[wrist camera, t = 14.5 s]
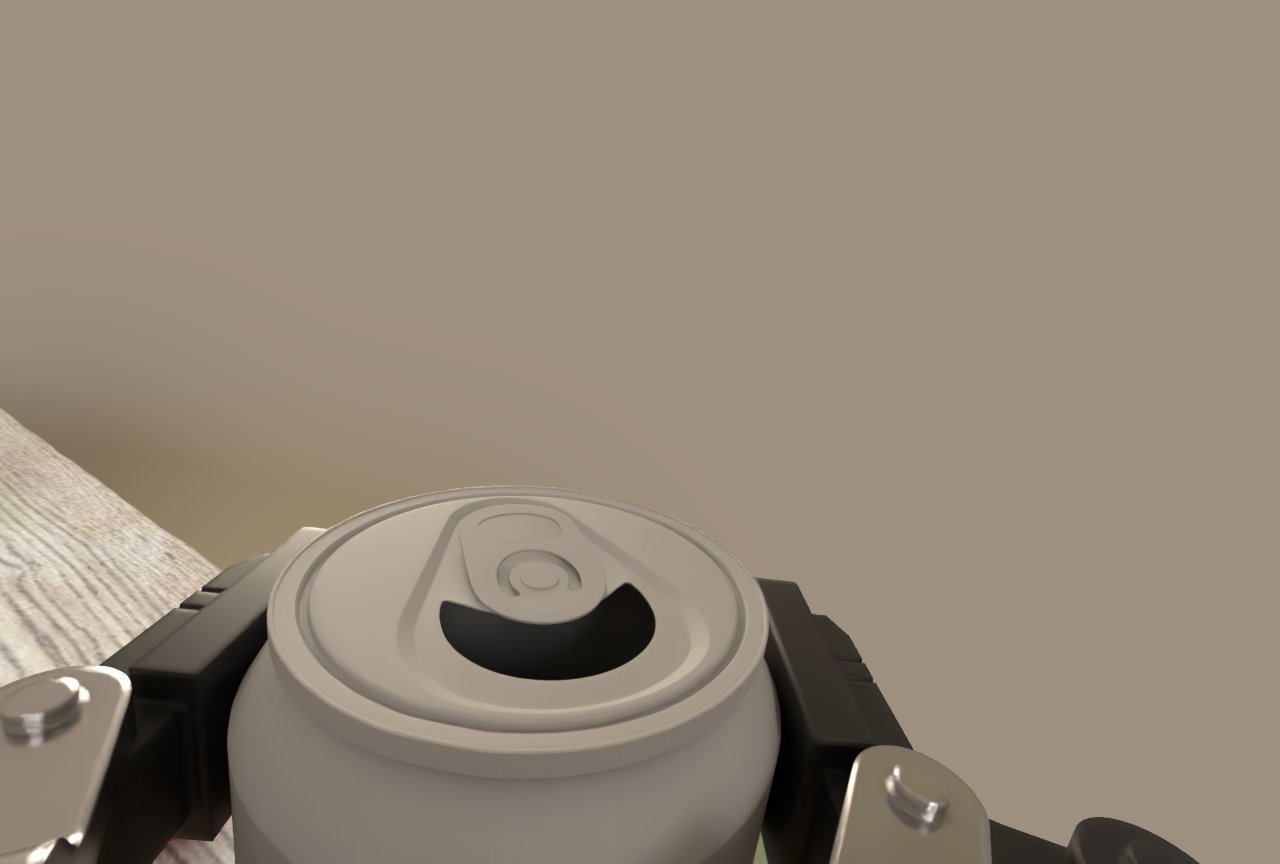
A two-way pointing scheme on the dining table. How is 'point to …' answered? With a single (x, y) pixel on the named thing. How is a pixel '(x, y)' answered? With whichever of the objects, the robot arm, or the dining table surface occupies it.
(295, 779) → the beverage can
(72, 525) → the dining table surface
